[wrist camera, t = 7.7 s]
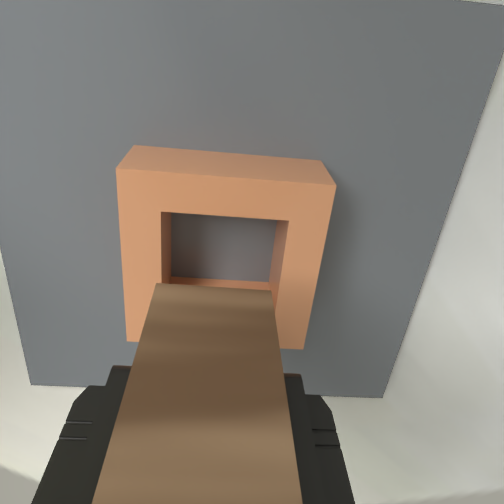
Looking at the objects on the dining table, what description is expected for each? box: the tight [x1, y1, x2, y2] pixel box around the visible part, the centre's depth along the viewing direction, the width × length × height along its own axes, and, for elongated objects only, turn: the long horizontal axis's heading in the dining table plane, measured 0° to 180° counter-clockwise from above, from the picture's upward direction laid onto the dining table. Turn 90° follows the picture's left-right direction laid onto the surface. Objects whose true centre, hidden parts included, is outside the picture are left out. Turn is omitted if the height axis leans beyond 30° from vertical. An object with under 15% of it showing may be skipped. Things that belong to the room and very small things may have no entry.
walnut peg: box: [92, 283, 303, 504], centre depth 9 cm, size 4×4×10 cm
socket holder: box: [0, 0, 504, 398], centre depth 18 cm, size 20×20×4 cm
